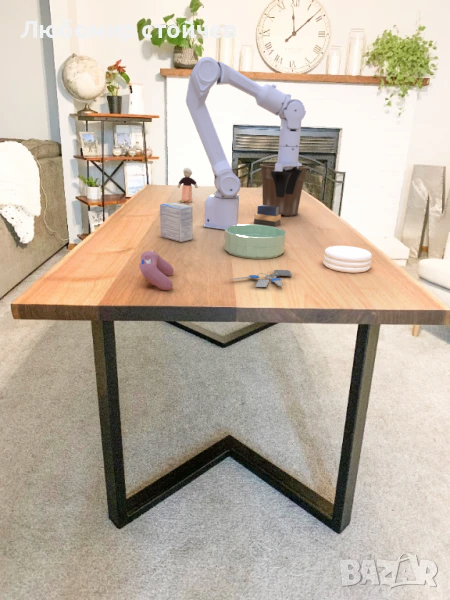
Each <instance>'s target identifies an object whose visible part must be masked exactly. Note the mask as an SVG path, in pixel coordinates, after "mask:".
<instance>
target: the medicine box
mask: <svg viewBox="0 0 450 600" xmlns="http://www.w3.org/2000/svg"><path fill="white" fill-rule="evenodd" d="M193 212H194V211H193V206H192V205H187V204H184V203H178V202H165V203H161V204H159V217H160V218H159V219H160V223H159V224H160V237H161V238H165V239H168V240H172V241H175V242H176V241H177V242H179V243H184V242H187V241H192V240H193V239H194V231H193V230H194V227H193V226H194V225H193V221H194V219H193V216H194V215H193Z"/></svg>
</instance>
